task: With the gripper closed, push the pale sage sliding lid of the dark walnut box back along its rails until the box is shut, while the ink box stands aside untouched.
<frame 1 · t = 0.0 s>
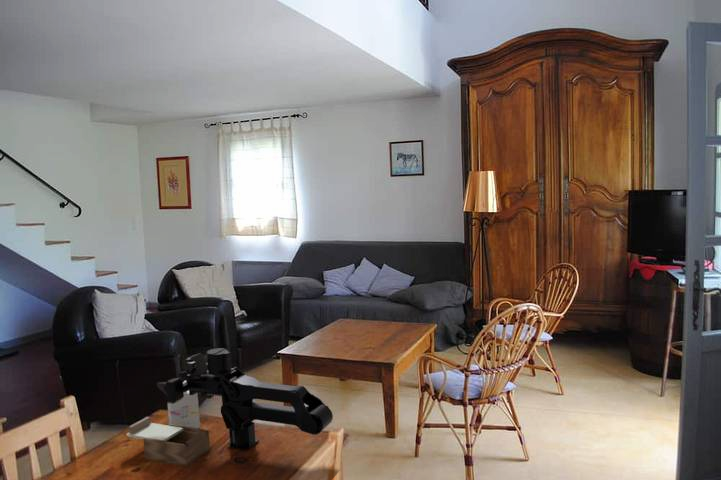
hand: (168, 379, 174), 17 cm above the table, tool horizontal, fingers open, 9 cm apart
lid: (154, 428, 163), point 6 cm above the table, slide at 7.0 cm
walnut box: (177, 454, 161), on the table
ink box: (184, 426, 180), on the table
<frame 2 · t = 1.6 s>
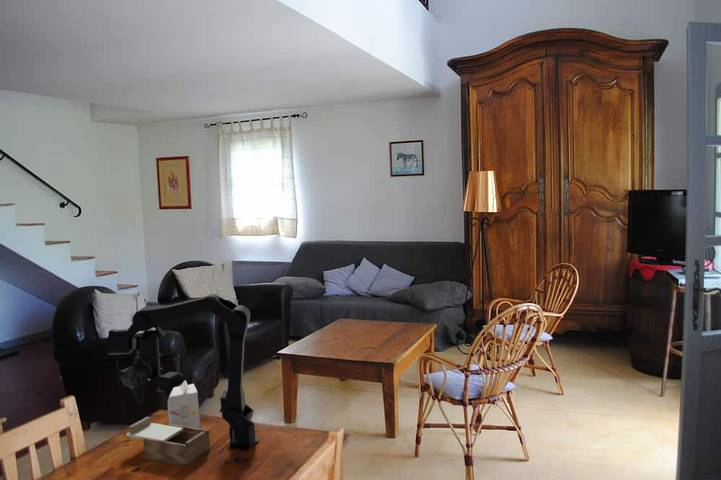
hand: (151, 407, 163), 13 cm above the table, tool pointing down, fingers open, 8 cm apart
nothing on the table moved.
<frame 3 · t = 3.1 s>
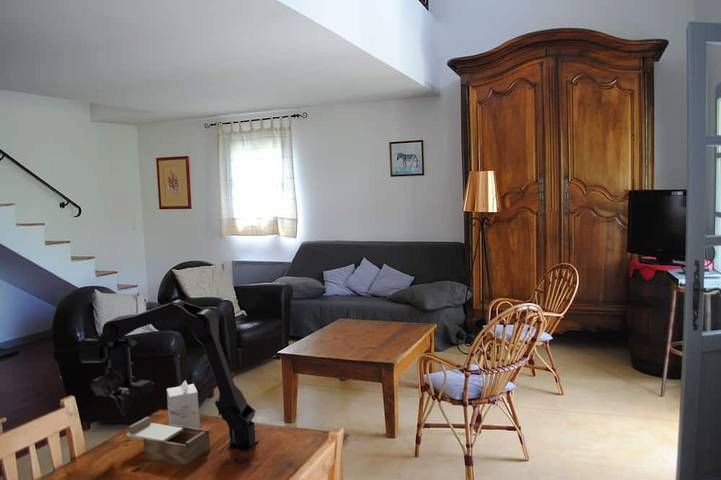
hand: (124, 414, 167), 9 cm above the table, tool pointing down, fingers closed
nothing on the table moved.
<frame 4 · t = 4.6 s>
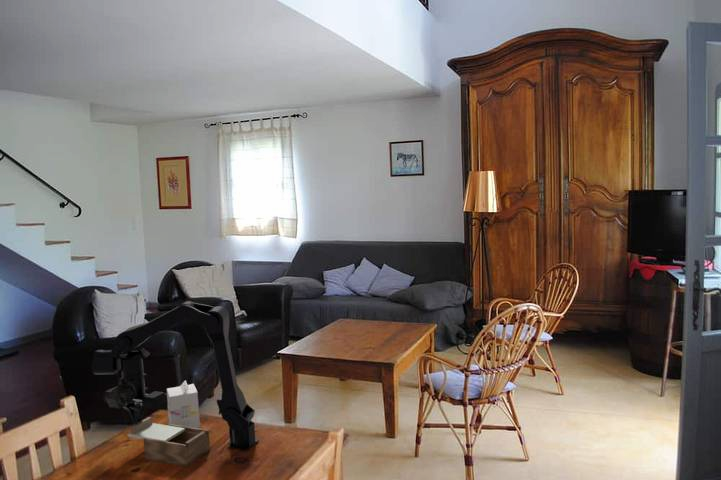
hand: (137, 426, 166), 6 cm above the table, tool pointing down, fingers closed
lid: (156, 428, 163), point 6 cm above the table, slide at 6.4 cm, touching gripper
everything else where it was.
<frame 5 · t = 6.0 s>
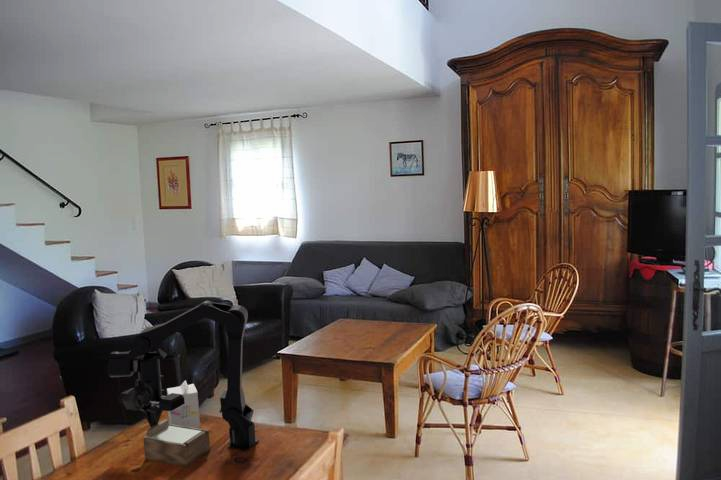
hand: (153, 428, 163), 6 cm above the table, tool pointing down, fingers closed
lid: (173, 431, 161), point 6 cm above the table, slide at 0.5 cm, touching gripper
everything else where it was.
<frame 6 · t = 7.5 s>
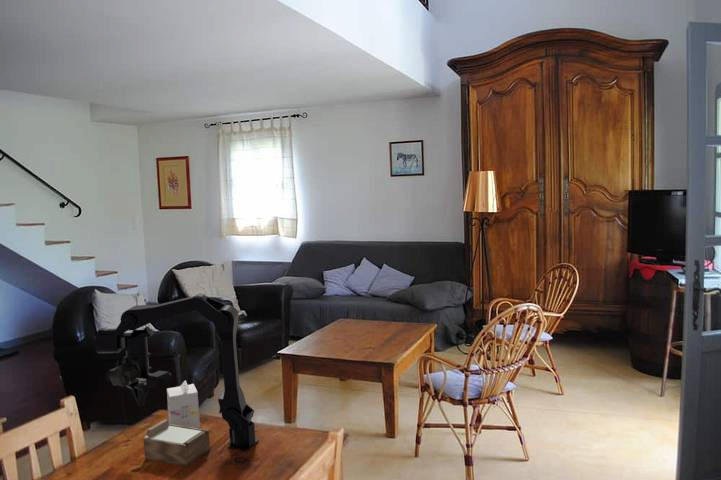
hand: (140, 405, 164), 13 cm above the table, tool pointing down, fingers closed
lid: (173, 431, 161), point 6 cm above the table, slide at 0.5 cm
everything else where it was.
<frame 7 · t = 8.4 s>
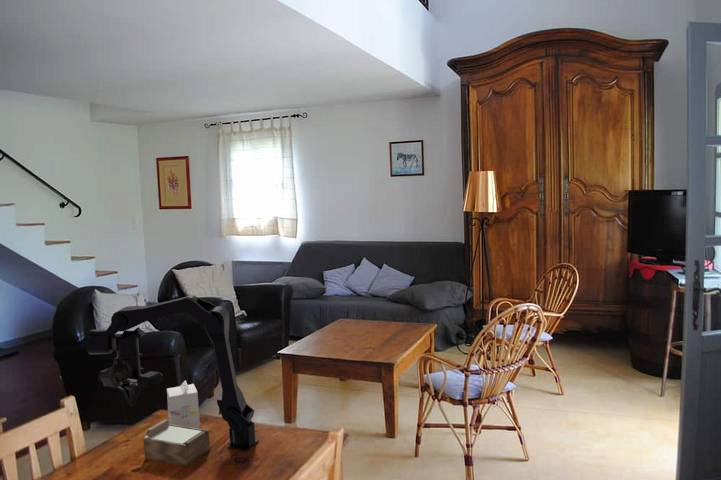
hand: (132, 406, 164), 13 cm above the table, tool pointing down, fingers closed
nothing on the table moved.
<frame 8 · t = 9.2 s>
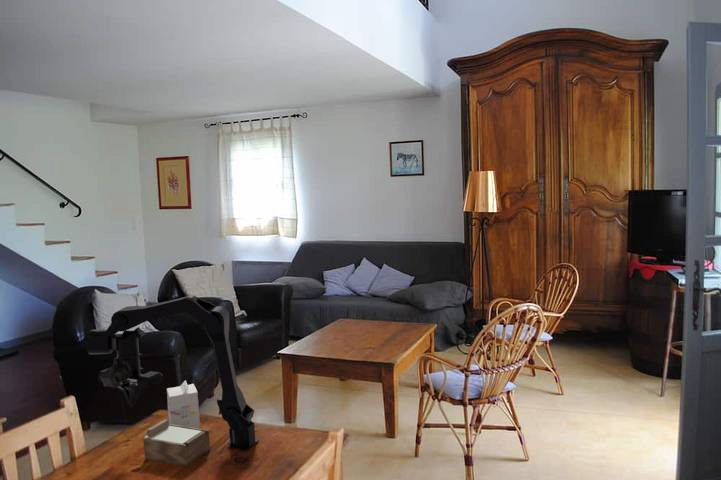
hand: (132, 406, 164), 13 cm above the table, tool pointing down, fingers closed
nothing on the table moved.
at the end: lid slide at 0.5 cm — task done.
